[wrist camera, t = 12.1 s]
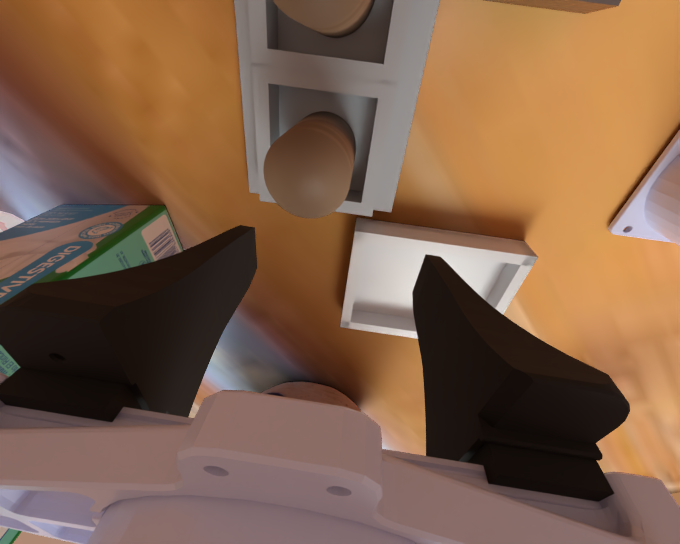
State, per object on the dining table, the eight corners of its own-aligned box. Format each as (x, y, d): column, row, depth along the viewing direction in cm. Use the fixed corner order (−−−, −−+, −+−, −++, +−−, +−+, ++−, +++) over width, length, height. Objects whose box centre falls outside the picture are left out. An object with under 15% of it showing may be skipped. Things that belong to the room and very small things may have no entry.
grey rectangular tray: (465, -128, 12) (488, -176, 10) (390, 206, 21) (392, 225, 19) (230, -158, 12) (194, -212, 10) (254, 187, 21) (238, 203, 19)
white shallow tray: (524, 241, 22) (538, 257, 20) (475, 329, 27) (482, 348, 25) (356, 217, 22) (355, 231, 20) (342, 310, 27) (340, 327, 26)
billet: (359, 114, 17) (355, 134, 12) (352, 182, 19) (346, 222, 14) (291, 107, 17) (259, 124, 12) (292, 176, 19) (266, 213, 14)
